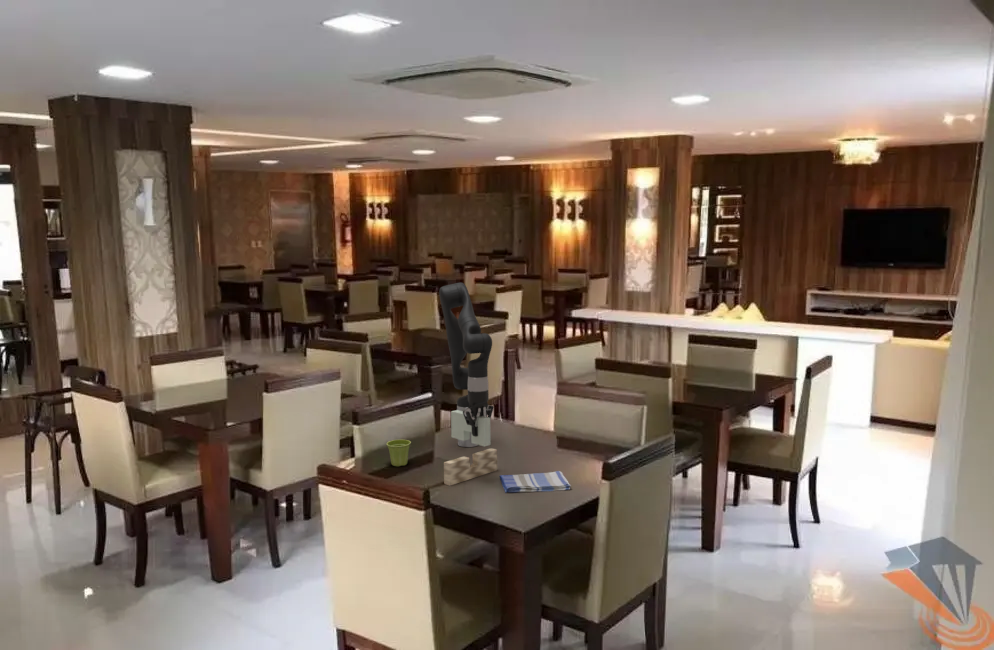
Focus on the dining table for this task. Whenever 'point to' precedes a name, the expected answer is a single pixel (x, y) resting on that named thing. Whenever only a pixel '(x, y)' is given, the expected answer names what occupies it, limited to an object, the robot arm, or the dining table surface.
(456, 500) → the dining table surface
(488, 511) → the dining table surface
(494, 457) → the maple slotted board
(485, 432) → the sage slotted board
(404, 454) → the plant pot
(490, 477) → the dining table surface
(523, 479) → the dish towel
